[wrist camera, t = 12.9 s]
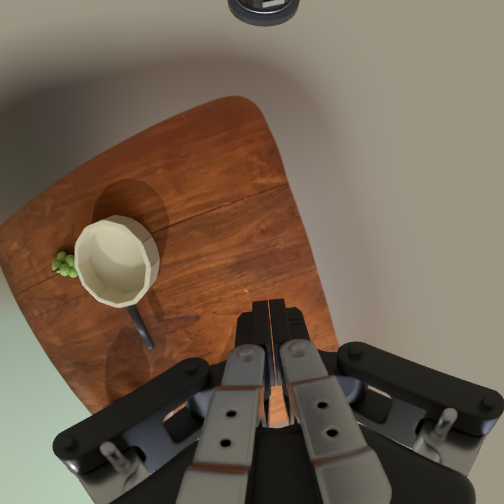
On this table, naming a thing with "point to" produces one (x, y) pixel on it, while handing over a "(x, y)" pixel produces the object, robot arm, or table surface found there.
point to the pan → (118, 265)
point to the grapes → (64, 265)
